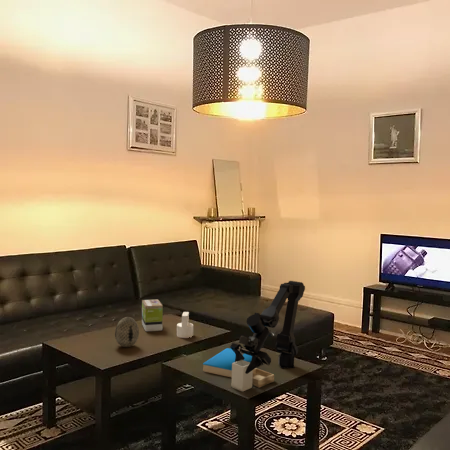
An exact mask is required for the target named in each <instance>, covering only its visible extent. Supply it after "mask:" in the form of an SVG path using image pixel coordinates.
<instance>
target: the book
mask: <svg viewBox="0 0 450 450" xmlns="http://www.w3.org/2000/svg"><path fill="white" fill-rule="evenodd" d="M235 357H236V354H235V353H234V352H233V350H232V349H231V348H230V347H226V348H225V349H223V350H221V351H220V352H219V353H217V354H215V355H214V356H212V357H210V358H209V359H208V360H206V361H204V362H203V363H202V367H203V368H202V371H203V372H204V373H208V374H209V373H210V374H215V375H218V376H222V377H223V376H224V377H229V378H232V363H234V362H235ZM243 357H244V358H245V359H244V361H247V362H251V360H252V356H250V355H247V354H243Z"/></svg>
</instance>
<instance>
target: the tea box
mask: <svg viewBox="0 0 450 450" xmlns="http://www.w3.org/2000/svg"><path fill="white" fill-rule="evenodd" d="M163 307H164V306H163V303H162V302H161V301H160V300H159V299H141V324H142V327H143V329H144V331H145V332H159V331H163V315H164V314H163V313H164V308H163Z"/></svg>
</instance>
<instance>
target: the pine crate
mask: <svg viewBox="0 0 450 450" xmlns="http://www.w3.org/2000/svg"><path fill="white" fill-rule="evenodd" d="M274 382H275V374H274V373H271V372H268V371H266V370H263V369H260V368H258V367H257V368H255V369H254V370H253V377H252V387H253V386H254V387H256V388H262V387H264V386H266V385H269V384H270V383H274Z"/></svg>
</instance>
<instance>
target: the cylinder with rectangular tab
mask: <svg viewBox="0 0 450 450" xmlns="http://www.w3.org/2000/svg"><path fill="white" fill-rule="evenodd" d="M189 315H190V312H189V311H183V312H182V314H181V322H178V323H177V324H176V337H177V338H180V339H188V338H189V337H190V338H192V336H194V324H193V323H191V322H189V321H190V317H189ZM190 338H189V339H190Z"/></svg>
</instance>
